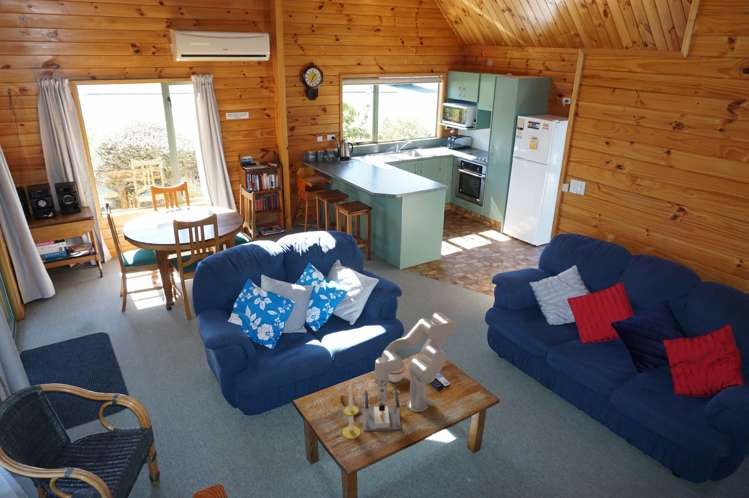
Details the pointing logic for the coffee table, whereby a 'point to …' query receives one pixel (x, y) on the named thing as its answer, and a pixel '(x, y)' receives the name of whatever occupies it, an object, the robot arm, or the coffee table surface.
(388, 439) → the coffee table surface
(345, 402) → the sunglasses case
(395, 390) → the dark gray rod
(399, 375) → the lidded bowl
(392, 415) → the board
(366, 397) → the dark grey rod
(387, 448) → the coffee table surface
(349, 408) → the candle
